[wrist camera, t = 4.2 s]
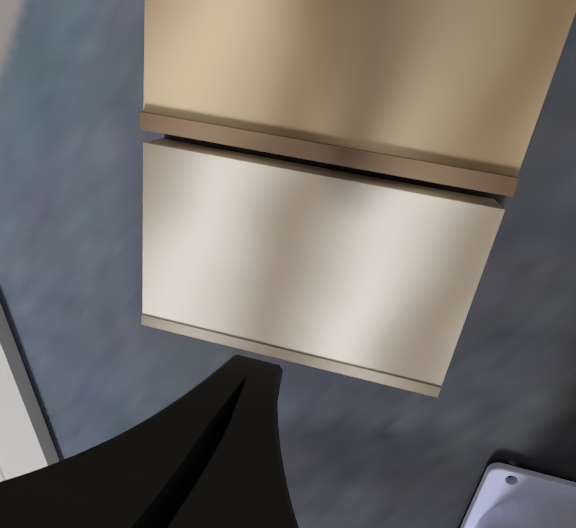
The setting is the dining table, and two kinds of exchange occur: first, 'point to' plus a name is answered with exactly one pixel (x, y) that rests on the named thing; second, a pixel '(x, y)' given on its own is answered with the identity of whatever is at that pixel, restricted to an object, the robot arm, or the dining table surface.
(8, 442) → the baseboard
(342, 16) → the floor board
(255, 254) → the tan flat block
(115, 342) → the dining table surface
